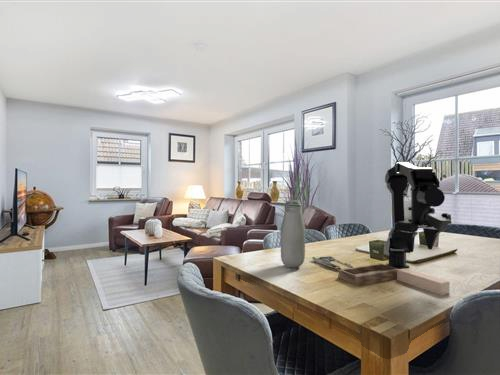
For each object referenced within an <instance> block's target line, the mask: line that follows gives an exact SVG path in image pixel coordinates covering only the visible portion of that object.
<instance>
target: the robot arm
mask: <svg viewBox="0 0 500 375" xmlns="http://www.w3.org/2000/svg"><path fill="white" fill-rule="evenodd" d="M436 174H437V173H436V172H435V171H434V168H432V167H418V166H417V165H414V164H412V163H410V162H408V161H404V162H403V161H399V162H395V164H394V165H393V166H392V167H391V168H389V169H387V171H386V174H385V176H384V182H385V183H386V189H387V190H388V191H389V193H390V198H391V202H390V203H391V222H392V227H391V229H390V231H389V232H388V237H387V240H386V242H385V244H384V246H385V247H384V249H385V251H386V252H387V253H388V263H386V264H385V265H388V266H391V267H394V268H398V269H404V268H406V269H408V268H410V265H407V253H408V254H411V253H413V252H414V248H415V238H416V236H417V235H419V232H418V230H419V229H422V230H423V234H424V240H425V243H426V248H427V249H428V250H430V251H431V250H433V248H434V244H435V241H436V240H437V237H438V236H439V234H440V233H442V232H444V231H445V230H447V228H448V226H449V225H451V224H452V223H453V222H452V216H451V214H450V213H448V212H443V213H442V214H440V213H439V214H438V213H436V211H435V209H434V208H435V207H436V208H437V207H440V206H441V205H442V204H443V203H444V201H445V199H446V196H445V194H444V192H443V190H441V189H439V188H440V181H439V178H438V176H437V175H436ZM408 184H410V187H411V188H410V189H409V190H410V192H411V195H410V196H411V198H410V199H411V201H410V207H409V206H408V207H407V208H408V211H410V212H411V213H410V214H411V216H410V218H408V221H406V220H405V199H404V198H405V197H404V192H405V191H406V189H407V188H408Z"/></svg>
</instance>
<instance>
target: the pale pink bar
mask: <svg viewBox="0 0 500 375" xmlns="http://www.w3.org/2000/svg"><path fill="white" fill-rule="evenodd" d="M396 280H397V281H400V282H402V283H405V284H408V285H410V286H414V287H417V288H419V289H422V290H426V291H427V292H431V293H434V294H437V295H440V296H442V295H447V294H450V281H449V280H446V279H442V278H439V277H435V276H433V275H429V274H425V273H421V272H419V271H416V270H412V269H409V268H401V269H398V270H397V279H396Z"/></svg>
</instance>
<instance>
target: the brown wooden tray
mask: <svg viewBox="0 0 500 375" xmlns="http://www.w3.org/2000/svg"><path fill="white" fill-rule="evenodd" d="M397 270H398V268H394V267H391V266H388V265H386V264H384V263H380V262H379V263H372V264H367V265H361V266H355V267H354V266H353V268H350V267H347V268H341V269H340V270H338V274H337V278H338V279H340V280H343V281H345V282H348V283H350V284H352V285H354V286H358V287H360V286H361V287H362V286H365V285H370V284H375V283H376V284H377V283H380V282H385V281H390V280H391V281H392V280H397Z"/></svg>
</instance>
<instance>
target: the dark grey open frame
mask: <svg viewBox="0 0 500 375" xmlns="http://www.w3.org/2000/svg"><path fill="white" fill-rule="evenodd" d="M312 260H313V261H314V262H316V263H317V264H320V265H323V266H326V267H329V268H332V269H334V270H337V271H339V270H340V269H342V268H341V267H340V266H339V265H336V264H333V263H331V262H334V263H339V264H341V265H343V266H345V267H347V268H353V267H354V266H353V265H351V264H350V263H346V262H345V263H343V262H342V261H340V260H337V259H336V258H334V257H333V256H321V257H318V258H317V257H315V256H312Z"/></svg>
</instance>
